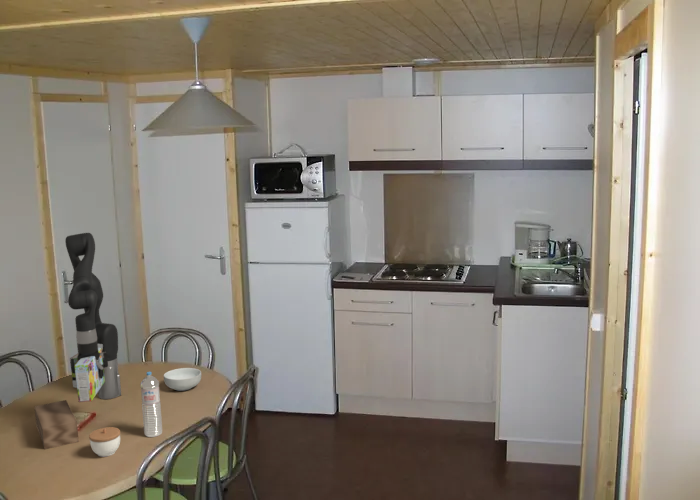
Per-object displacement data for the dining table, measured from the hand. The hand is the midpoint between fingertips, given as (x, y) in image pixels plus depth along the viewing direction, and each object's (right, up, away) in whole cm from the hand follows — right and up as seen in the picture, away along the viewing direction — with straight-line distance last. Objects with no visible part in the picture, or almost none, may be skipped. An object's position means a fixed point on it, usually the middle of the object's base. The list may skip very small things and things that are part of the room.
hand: (90, 380), depth 276 cm
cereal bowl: (+27, -12, +42) cm, 51 cm away
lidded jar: (+14, -23, -22) cm, 35 cm away
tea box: (-20, -11, +52) cm, 57 cm away
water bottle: (+27, -20, -7) cm, 34 cm away
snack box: (0, -5, +1) cm, 5 cm away
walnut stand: (-12, -20, -4) cm, 24 cm away
